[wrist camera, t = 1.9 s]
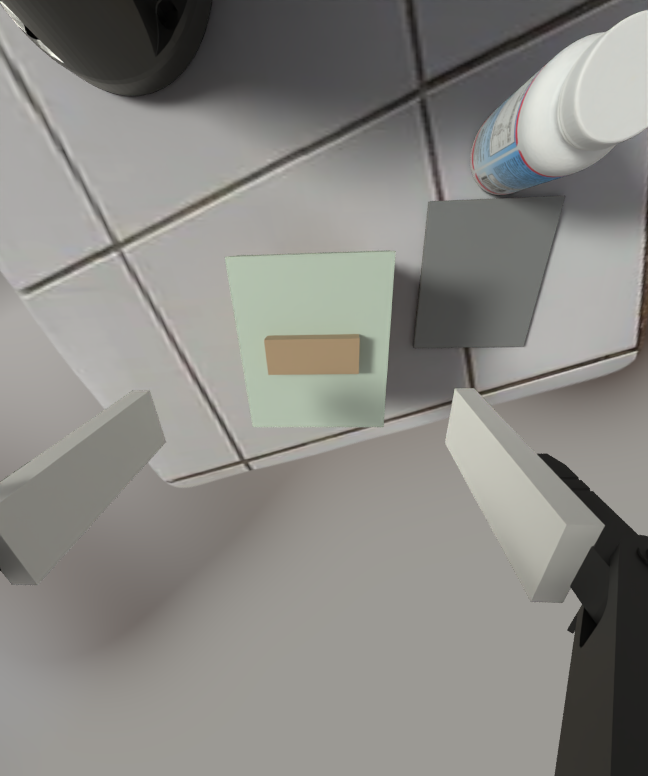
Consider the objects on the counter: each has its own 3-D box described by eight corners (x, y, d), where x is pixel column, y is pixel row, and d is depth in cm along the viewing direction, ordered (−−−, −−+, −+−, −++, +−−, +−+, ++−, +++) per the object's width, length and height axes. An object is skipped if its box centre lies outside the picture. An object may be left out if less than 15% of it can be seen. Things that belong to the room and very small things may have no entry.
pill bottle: (557, 162, 24) (718, 102, 14) (483, 212, 25) (578, 190, 15) (533, 79, 22) (703, -65, 12) (455, 139, 23) (542, 59, 13)
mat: (428, 202, 25) (430, 201, 25) (561, 196, 25) (565, 195, 24) (413, 346, 31) (414, 348, 31) (520, 344, 30) (523, 346, 30)
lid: (237, 255, 20) (218, 257, 16) (388, 250, 19) (398, 251, 16) (260, 410, 25) (249, 434, 22) (379, 410, 24) (385, 434, 21)
